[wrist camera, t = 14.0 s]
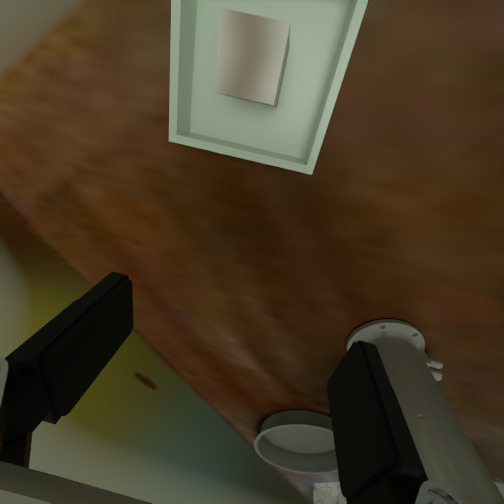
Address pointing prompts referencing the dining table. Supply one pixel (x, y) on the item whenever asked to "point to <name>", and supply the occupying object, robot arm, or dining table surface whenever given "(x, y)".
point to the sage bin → (292, 90)
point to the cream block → (251, 57)
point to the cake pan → (298, 442)
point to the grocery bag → (328, 493)
